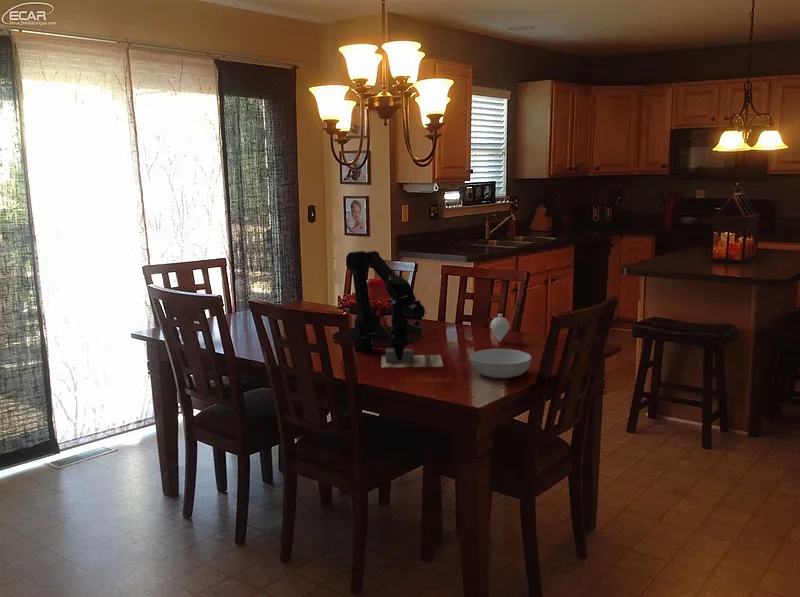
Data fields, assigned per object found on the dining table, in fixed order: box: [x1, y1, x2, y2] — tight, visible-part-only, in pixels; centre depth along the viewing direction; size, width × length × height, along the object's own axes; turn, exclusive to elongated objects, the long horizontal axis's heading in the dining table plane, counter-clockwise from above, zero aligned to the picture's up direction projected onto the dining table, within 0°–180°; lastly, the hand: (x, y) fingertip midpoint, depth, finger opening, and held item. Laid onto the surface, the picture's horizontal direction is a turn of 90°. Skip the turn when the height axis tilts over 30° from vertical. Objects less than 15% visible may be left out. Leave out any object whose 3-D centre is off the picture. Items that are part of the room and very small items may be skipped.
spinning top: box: [490, 313, 511, 344], centre depth 294 cm, size 8×8×12 cm
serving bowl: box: [469, 348, 532, 380], centre depth 249 cm, size 21×21×7 cm
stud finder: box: [385, 347, 415, 363], centre depth 262 cm, size 10×5×4 cm, turn 91°
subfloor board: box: [380, 354, 445, 368], centre depth 262 cm, size 22×16×2 cm
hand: (399, 358), depth 262 cm, fingers closed on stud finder, 5 cm apart
